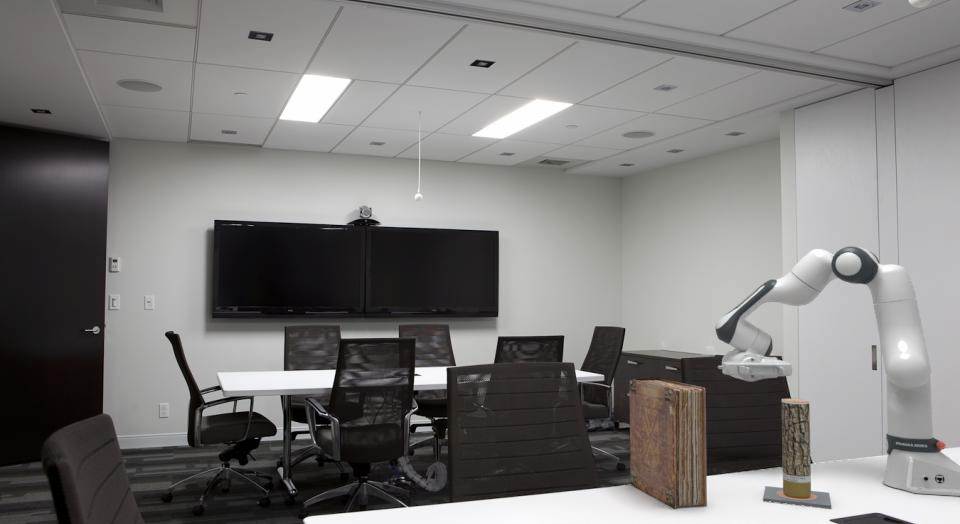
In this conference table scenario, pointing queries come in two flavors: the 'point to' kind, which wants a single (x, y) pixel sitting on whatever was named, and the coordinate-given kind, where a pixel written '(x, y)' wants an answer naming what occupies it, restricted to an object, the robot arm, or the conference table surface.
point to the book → (668, 441)
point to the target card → (814, 500)
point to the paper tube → (796, 448)
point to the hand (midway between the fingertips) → (765, 370)
